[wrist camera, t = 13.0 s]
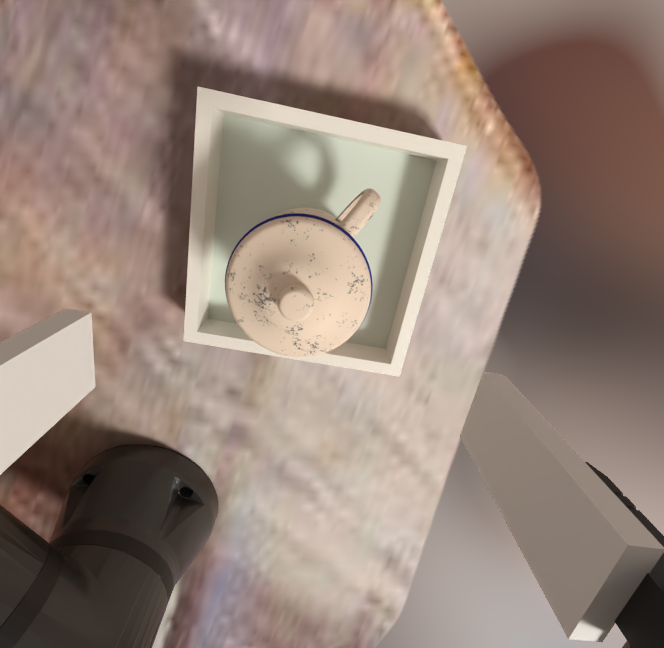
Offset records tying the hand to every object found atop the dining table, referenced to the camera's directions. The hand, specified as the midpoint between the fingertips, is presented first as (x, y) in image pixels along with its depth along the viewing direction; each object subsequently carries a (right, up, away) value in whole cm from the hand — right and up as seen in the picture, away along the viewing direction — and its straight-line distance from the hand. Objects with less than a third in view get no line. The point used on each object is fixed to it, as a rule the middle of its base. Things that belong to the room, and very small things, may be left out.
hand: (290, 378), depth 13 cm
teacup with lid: (0, +8, +18) cm, 20 cm away
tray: (0, +9, +19) cm, 21 cm away
